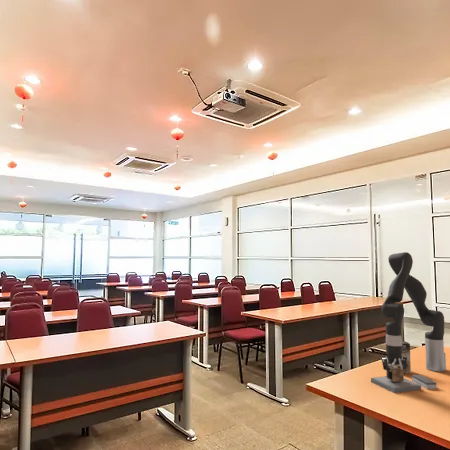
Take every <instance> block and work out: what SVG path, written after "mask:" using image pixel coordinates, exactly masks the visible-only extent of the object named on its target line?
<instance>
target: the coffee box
mask: <svg viewBox="0 0 450 450" xmlns="http://www.w3.org/2000/svg"><path fill="white" fill-rule="evenodd" d="M401 355H402V356H405V357H407V363H406V369H403V374H411V372H412V370H411V369H412V368H411V344H410V343H409V342H407V341H405V340H404V341H403V340H402V354H401ZM390 365H392V364H390ZM394 366H396V365H394ZM403 366H404V363H403ZM396 367H397V366H396Z"/></svg>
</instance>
